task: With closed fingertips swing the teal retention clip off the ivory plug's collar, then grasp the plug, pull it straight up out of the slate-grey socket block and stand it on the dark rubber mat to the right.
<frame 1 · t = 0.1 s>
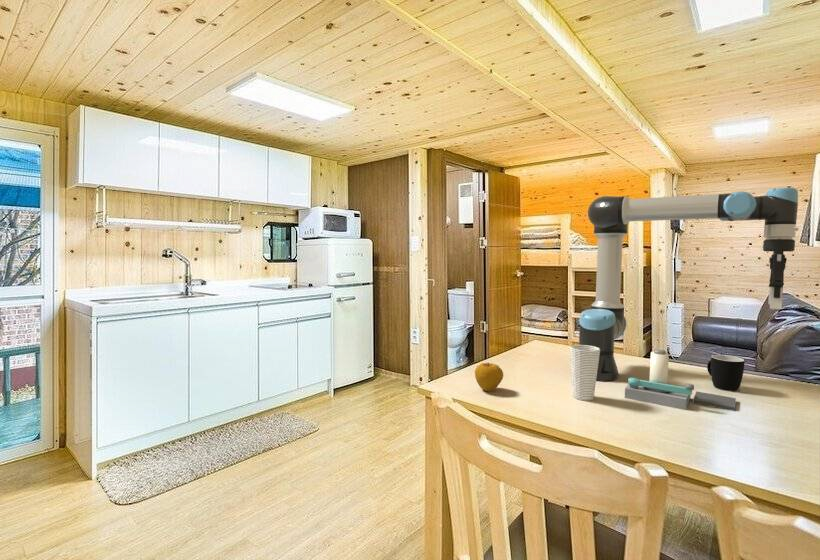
hand: (774, 306, 137), 28 cm above the table, fingers open, 13 cm apart
clip: (659, 384, 130), point 5 cm above the table, hinge at 0.0°
mug: (721, 387, 146), on the table
cup: (583, 398, 134), on the table
plug: (657, 398, 134), resting in socket block
socket block: (657, 398, 134), on the table
apple: (488, 390, 140), on the table
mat: (714, 402, 131), on the table
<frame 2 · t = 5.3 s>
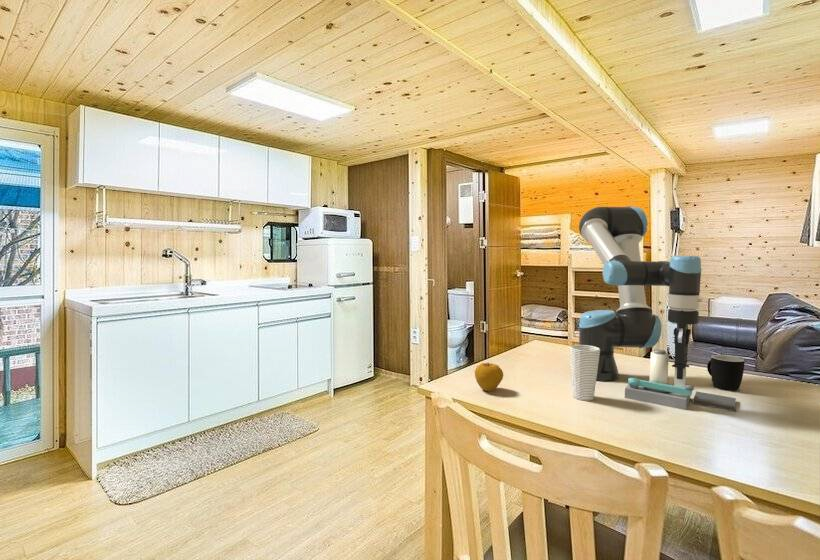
hand: (679, 389, 128), 5 cm above the table, fingers closed
clip: (659, 384, 130), point 5 cm above the table, hinge at -2.5°, touching gripper
everything else where it was.
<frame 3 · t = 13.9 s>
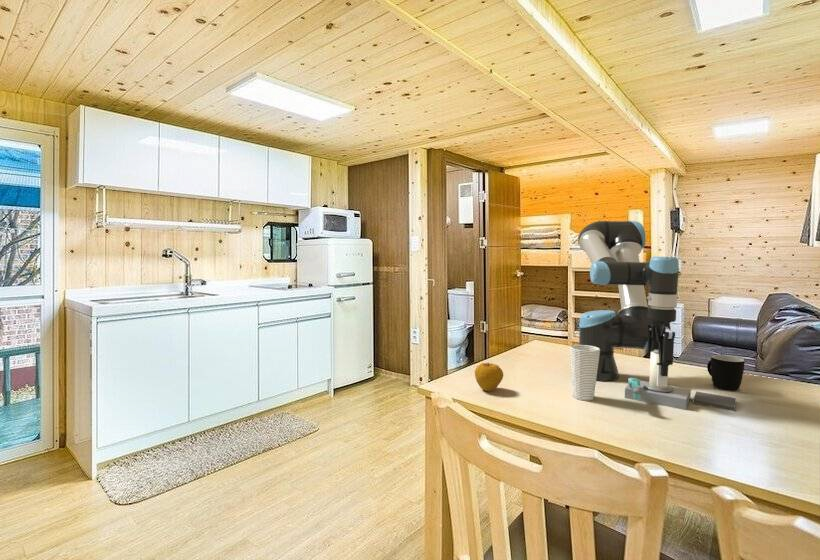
hand: (658, 383, 134), 5 cm above the table, fingers closed on plug, 5 cm apart
clip: (635, 386, 128), point 5 cm above the table, hinge at -76.3°
plug: (657, 398, 134), resting in socket block, touching gripper
everything else where it was.
when the fingers open (7 cm above the table, at t = 19.1 s): plug stays where it is, resting on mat.
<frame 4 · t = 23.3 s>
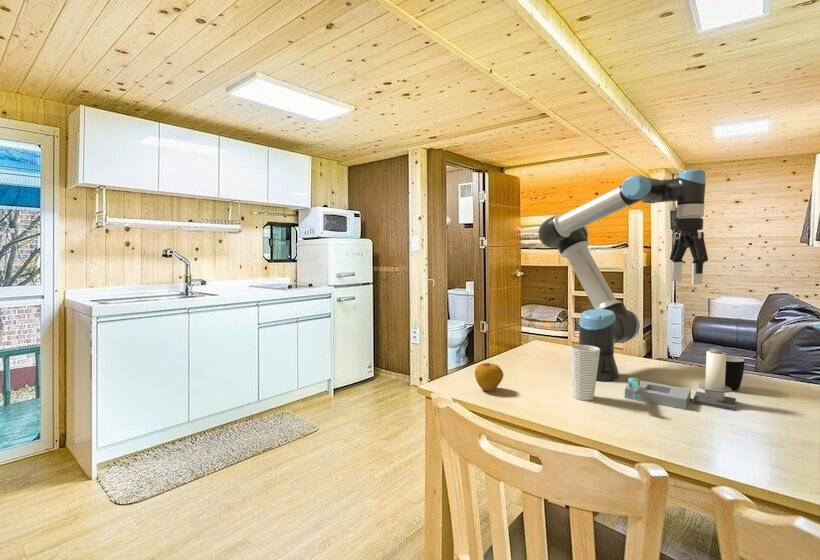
hand: (686, 282, 145), 35 cm above the table, fingers open, 13 cm apart
plug: (714, 398, 131), point 1 cm above the table, touching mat
everything else where it was.
at the end: plug inside the target area on the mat (0.1 cm from its centre), point 1.0 cm above the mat's base; plug tilted 1°; clip at -76° (first picture: +0°) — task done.
